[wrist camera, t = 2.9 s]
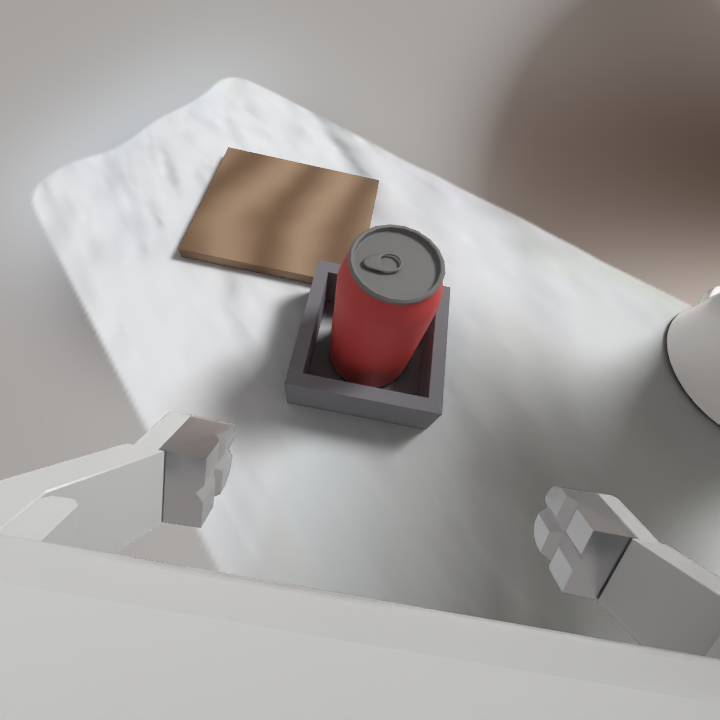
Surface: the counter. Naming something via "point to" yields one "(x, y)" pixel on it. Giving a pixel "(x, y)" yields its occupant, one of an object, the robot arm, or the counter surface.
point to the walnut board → (278, 216)
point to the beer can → (384, 303)
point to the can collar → (362, 397)
